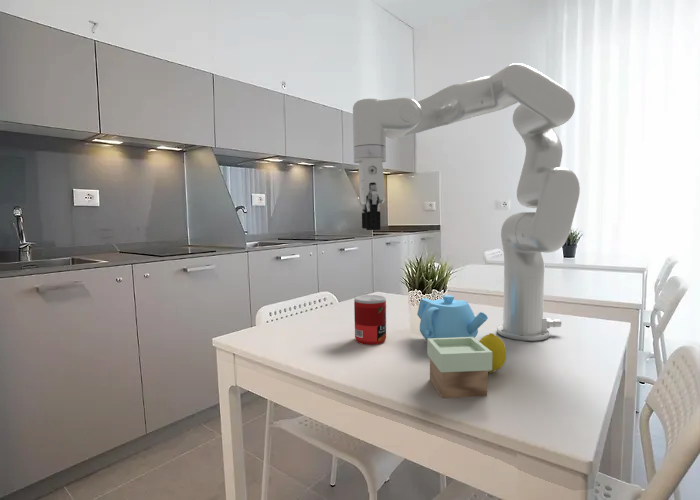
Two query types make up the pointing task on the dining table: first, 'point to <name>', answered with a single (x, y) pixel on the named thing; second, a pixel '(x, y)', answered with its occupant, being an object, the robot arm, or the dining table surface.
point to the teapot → (448, 318)
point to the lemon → (495, 350)
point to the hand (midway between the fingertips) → (370, 229)
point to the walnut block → (459, 382)
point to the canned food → (370, 319)
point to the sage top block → (459, 354)
